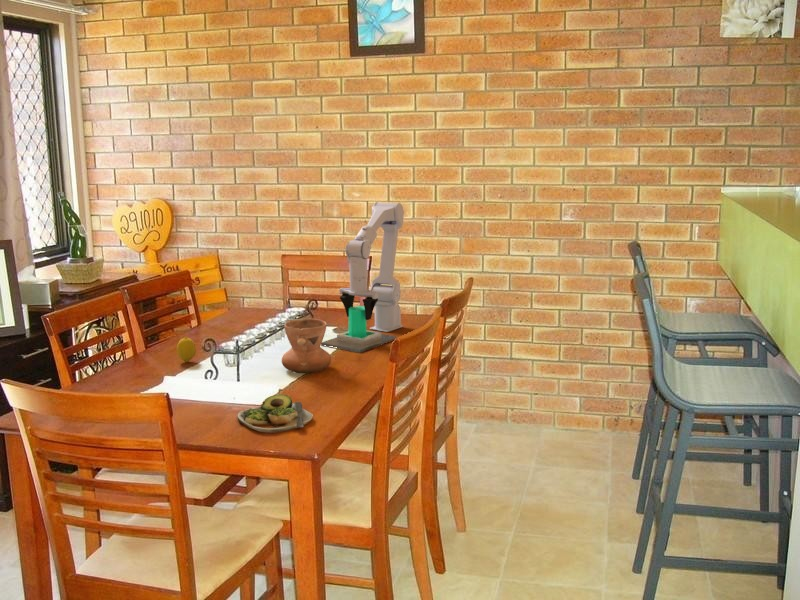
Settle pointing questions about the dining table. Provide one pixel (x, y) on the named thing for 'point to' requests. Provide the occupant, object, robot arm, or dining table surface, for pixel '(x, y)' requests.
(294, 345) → the ceramic jug
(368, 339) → the candle base
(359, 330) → the candle
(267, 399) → the salad plate
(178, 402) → the dining table surface
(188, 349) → the lemon
